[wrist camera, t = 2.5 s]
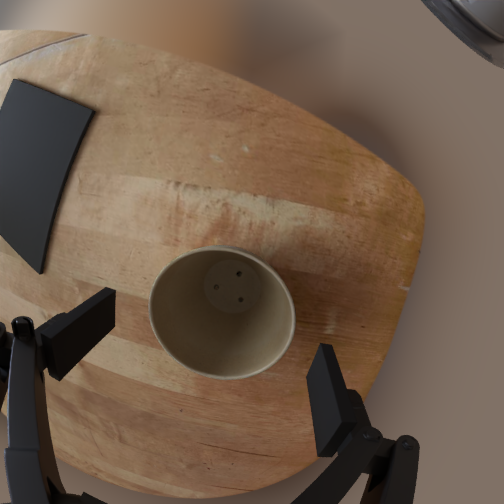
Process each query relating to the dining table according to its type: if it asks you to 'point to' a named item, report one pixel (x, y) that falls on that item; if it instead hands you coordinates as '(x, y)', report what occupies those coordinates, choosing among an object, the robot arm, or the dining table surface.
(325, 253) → the dining table surface
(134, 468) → the dining table surface
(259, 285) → the flower pot
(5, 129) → the mat
